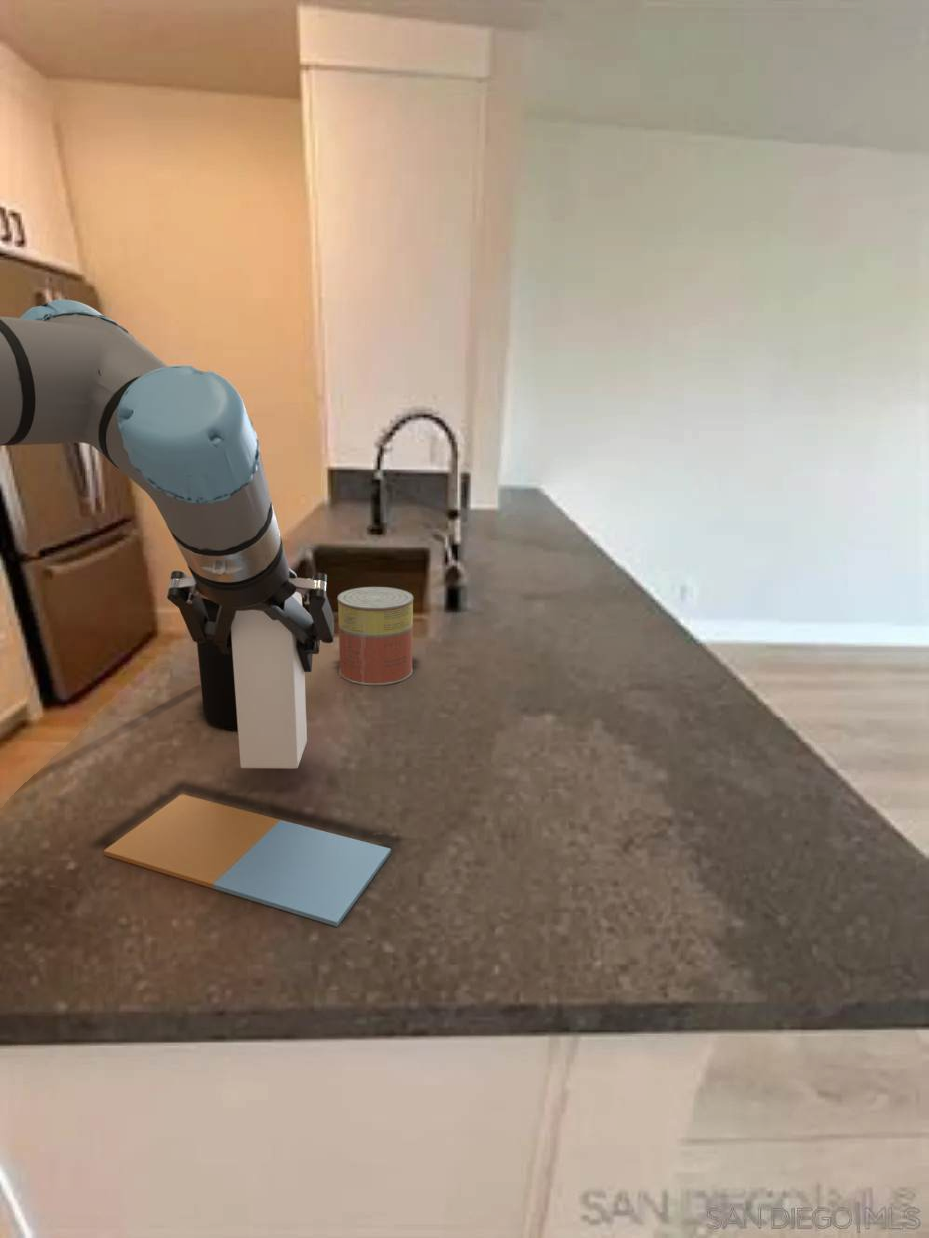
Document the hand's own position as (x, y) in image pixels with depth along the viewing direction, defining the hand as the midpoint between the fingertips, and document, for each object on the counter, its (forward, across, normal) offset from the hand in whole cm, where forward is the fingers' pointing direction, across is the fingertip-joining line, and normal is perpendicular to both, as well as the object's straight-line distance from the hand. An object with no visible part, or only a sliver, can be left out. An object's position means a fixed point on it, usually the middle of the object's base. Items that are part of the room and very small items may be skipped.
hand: (276, 660), depth 74 cm
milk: (+4, 0, -10) cm, 10 cm away
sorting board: (-3, 0, -21) cm, 21 cm away
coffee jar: (+18, -6, 0) cm, 19 cm away
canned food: (+28, +10, +10) cm, 32 cm away
